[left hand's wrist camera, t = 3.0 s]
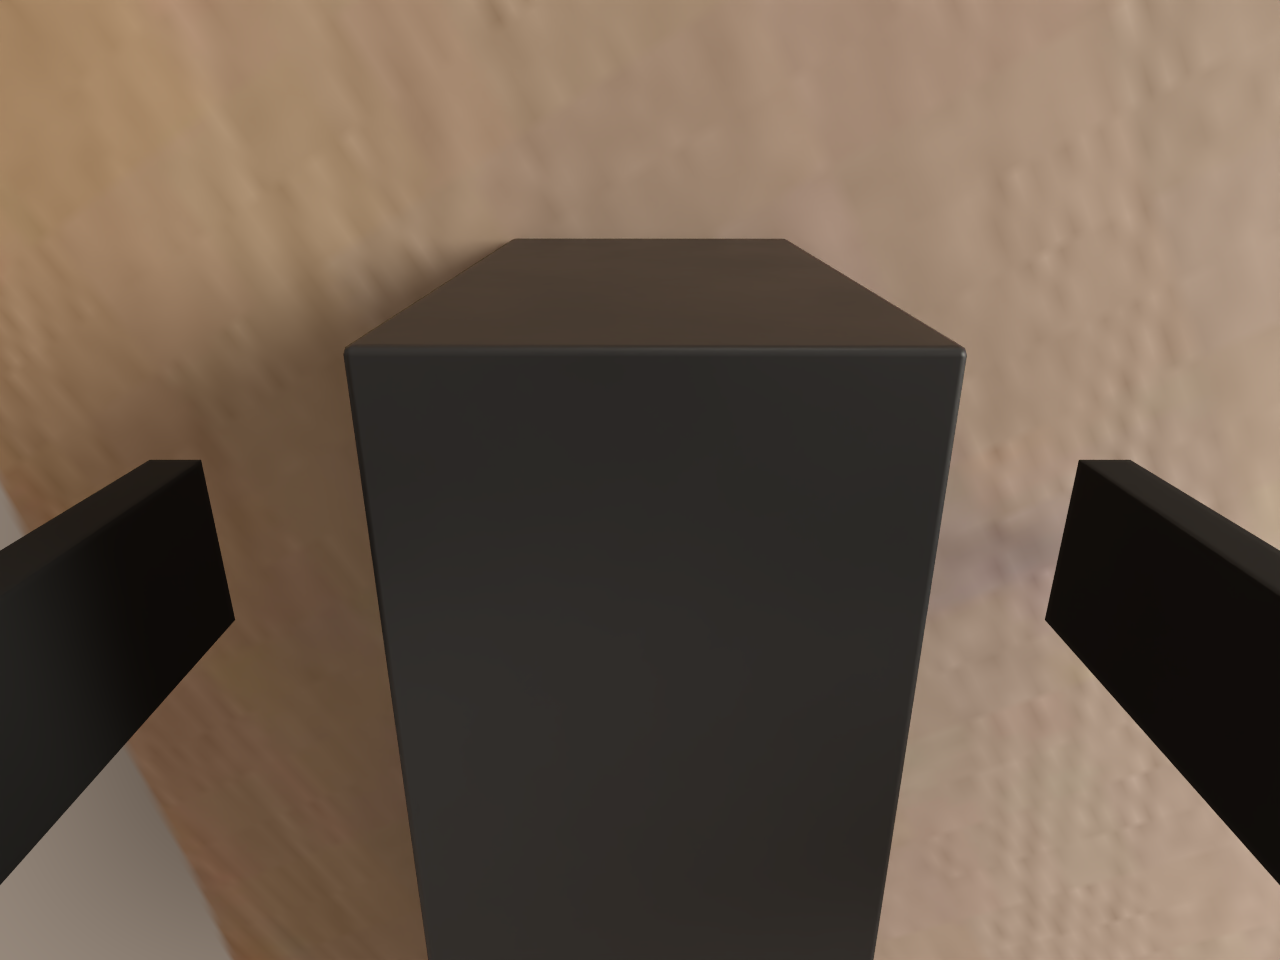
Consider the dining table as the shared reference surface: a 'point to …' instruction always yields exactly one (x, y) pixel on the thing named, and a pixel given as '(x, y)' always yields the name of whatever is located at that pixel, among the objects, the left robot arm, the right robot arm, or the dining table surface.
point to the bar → (653, 593)
